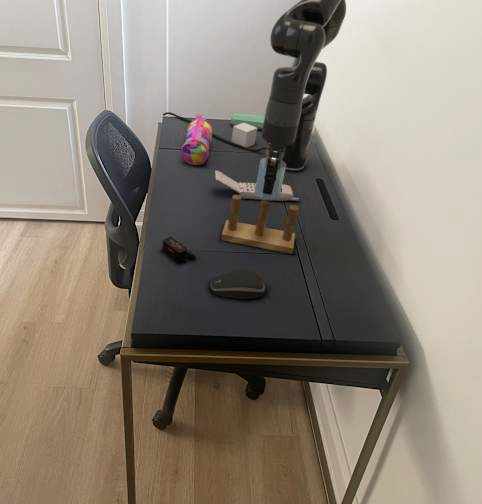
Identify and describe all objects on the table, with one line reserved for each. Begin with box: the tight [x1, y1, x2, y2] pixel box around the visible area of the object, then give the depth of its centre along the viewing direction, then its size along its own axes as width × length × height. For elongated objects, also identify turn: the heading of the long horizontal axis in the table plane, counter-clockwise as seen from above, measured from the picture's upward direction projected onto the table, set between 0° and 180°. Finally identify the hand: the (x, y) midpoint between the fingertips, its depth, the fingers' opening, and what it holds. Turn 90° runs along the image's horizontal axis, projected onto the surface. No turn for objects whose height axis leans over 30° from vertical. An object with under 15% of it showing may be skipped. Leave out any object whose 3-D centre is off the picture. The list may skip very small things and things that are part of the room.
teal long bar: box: [230, 112, 265, 131], centre depth 185 cm, size 6×6×25 cm
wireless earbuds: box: [162, 236, 196, 263], centre depth 116 cm, size 5×7×3 cm, turn 44°
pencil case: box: [180, 114, 213, 166], centre depth 161 cm, size 22×9×9 cm, turn 178°
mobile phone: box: [214, 169, 300, 202], centre depth 143 cm, size 6×6×25 cm
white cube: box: [231, 123, 258, 148], centre depth 172 cm, size 6×6×6 cm
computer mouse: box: [209, 268, 266, 300], centre depth 108 cm, size 7×12×4 cm, turn 94°
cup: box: [255, 157, 286, 201], centre depth 116 cm, size 6×6×8 cm
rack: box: [220, 194, 299, 255], centre depth 123 cm, size 18×7×11 cm, turn 79°
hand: (268, 186), depth 117 cm, fingers closed on cup, 6 cm apart
